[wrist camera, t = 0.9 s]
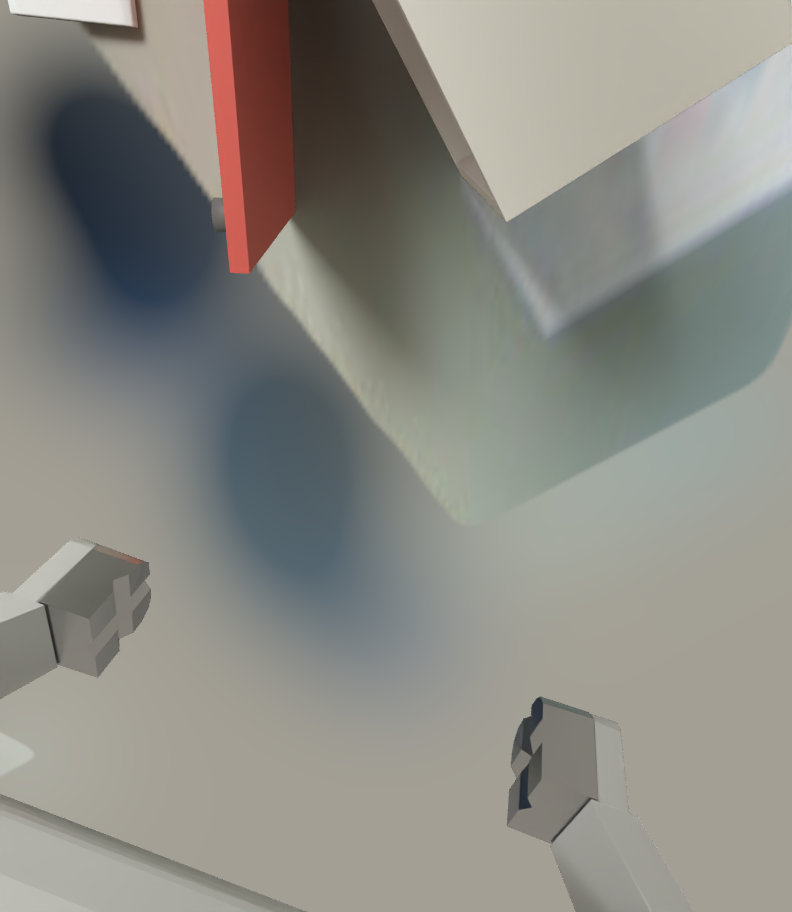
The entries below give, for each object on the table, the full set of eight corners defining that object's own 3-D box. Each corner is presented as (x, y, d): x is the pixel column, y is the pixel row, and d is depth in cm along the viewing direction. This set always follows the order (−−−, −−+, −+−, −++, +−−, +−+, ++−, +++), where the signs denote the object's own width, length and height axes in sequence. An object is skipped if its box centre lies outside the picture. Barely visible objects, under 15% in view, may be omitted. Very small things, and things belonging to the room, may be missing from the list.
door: (239, -162, 35) (117, -379, 19) (282, -158, 35) (197, -371, 19) (263, 209, 46) (199, 270, 30) (295, 211, 46) (249, 273, 30)
